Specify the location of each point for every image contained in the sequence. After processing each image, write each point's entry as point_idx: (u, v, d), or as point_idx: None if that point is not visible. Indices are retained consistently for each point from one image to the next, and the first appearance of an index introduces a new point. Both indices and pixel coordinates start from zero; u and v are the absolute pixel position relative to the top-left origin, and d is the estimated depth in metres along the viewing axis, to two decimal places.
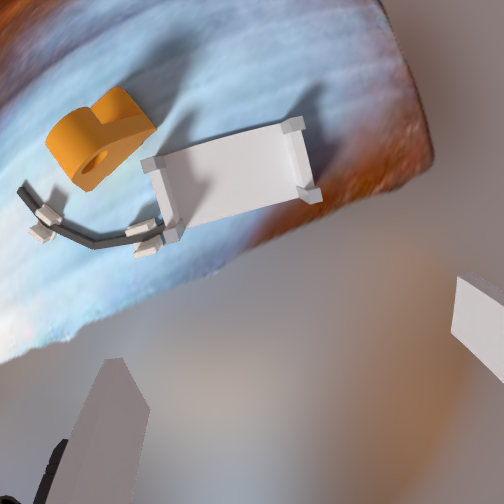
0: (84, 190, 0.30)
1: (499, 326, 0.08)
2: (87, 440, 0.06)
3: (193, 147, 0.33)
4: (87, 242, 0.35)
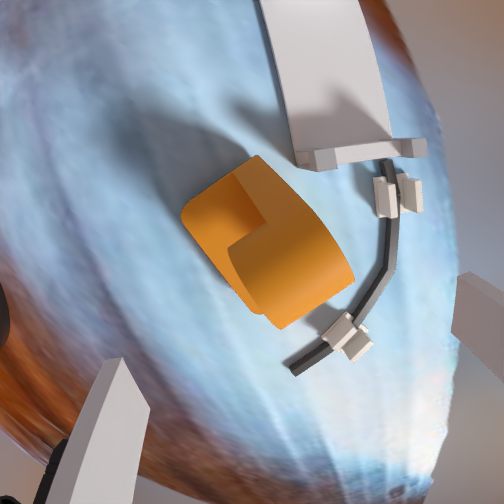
0: None
1: (499, 326, 0.08)
2: (87, 440, 0.06)
3: (288, 106, 0.22)
4: (385, 278, 0.27)
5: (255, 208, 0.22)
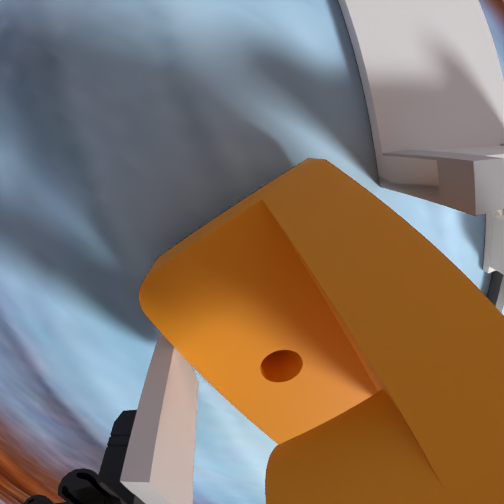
0: None
1: None
2: (159, 404, 0.07)
3: (367, 62, 0.09)
4: None
5: (310, 284, 0.10)
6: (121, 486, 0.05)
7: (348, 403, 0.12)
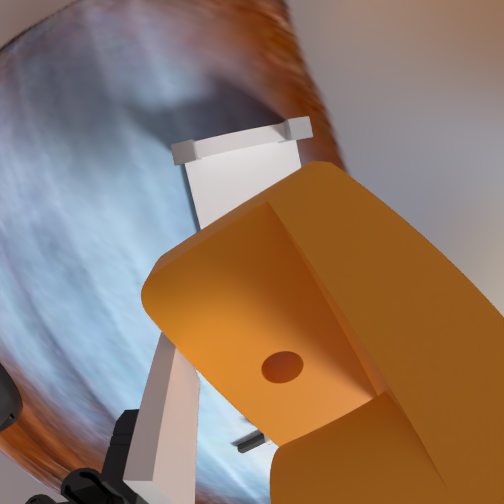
0: None
1: None
2: (162, 403, 0.07)
3: None
4: None
5: (313, 286, 0.10)
6: (123, 485, 0.05)
7: (347, 405, 0.12)
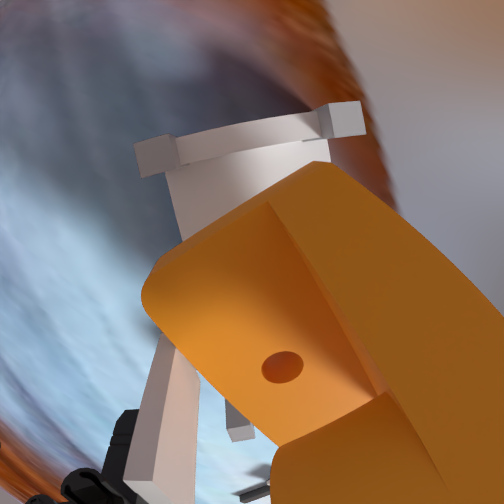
0: None
1: None
2: (162, 403, 0.07)
3: None
4: None
5: (313, 286, 0.10)
6: (123, 485, 0.05)
7: (347, 405, 0.12)
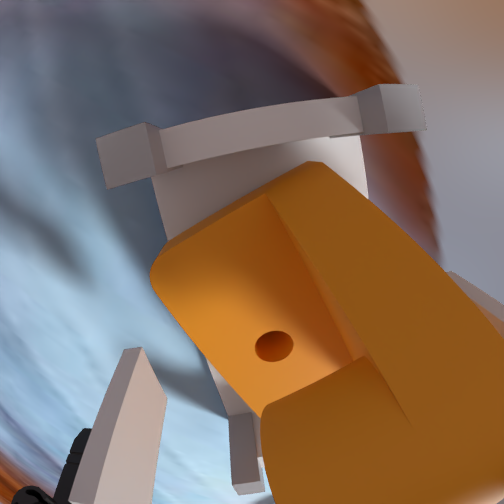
0: None
1: None
2: (112, 427, 0.07)
3: (214, 372, 0.15)
4: None
5: (303, 271, 0.11)
6: None
7: None
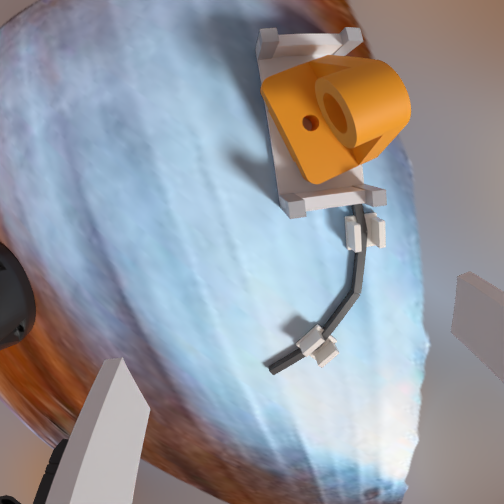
0: (381, 151, 0.25)
1: (499, 326, 0.08)
2: (87, 440, 0.06)
3: (275, 157, 0.29)
4: (351, 299, 0.33)
5: None
6: None
7: (339, 155, 0.26)
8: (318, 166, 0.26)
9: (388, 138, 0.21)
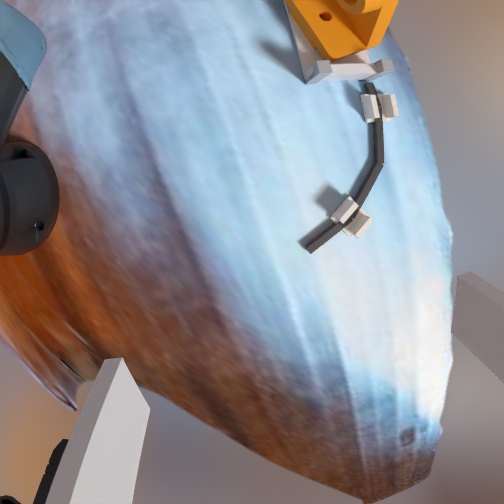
0: (383, 35, 0.26)
1: (499, 327, 0.08)
2: (87, 440, 0.06)
3: (298, 45, 0.29)
4: (376, 169, 0.34)
5: None
6: None
7: (351, 39, 0.27)
8: (335, 45, 0.27)
9: (387, 14, 0.21)
